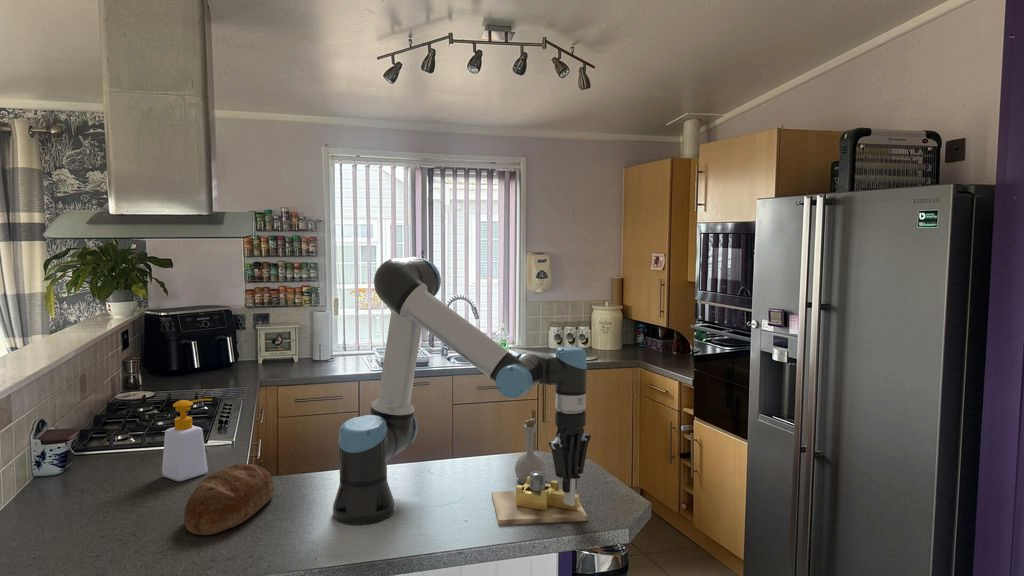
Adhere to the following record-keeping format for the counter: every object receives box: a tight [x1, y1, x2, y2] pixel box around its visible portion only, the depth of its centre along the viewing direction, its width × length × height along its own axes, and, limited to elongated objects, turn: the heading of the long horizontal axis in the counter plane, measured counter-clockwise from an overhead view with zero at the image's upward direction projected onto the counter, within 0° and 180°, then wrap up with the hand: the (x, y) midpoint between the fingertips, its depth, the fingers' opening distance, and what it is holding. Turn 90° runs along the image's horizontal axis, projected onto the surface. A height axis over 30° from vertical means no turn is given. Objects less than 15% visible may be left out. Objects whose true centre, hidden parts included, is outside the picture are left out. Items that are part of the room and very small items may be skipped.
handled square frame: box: [515, 476, 580, 511], centre depth 167 cm, size 15×8×5 cm, turn 65°
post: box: [530, 471, 546, 493], centre depth 169 cm, size 4×4×9 cm
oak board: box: [491, 488, 588, 526], centre depth 169 cm, size 22×18×1 cm
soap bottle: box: [161, 398, 213, 482], centre depth 192 cm, size 10×14×22 cm
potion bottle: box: [514, 417, 546, 485], centre depth 188 cm, size 9×9×18 cm
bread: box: [183, 463, 275, 536], centre depth 165 cm, size 16×29×11 cm, turn 174°
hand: (569, 503), depth 163 cm, fingers closed
